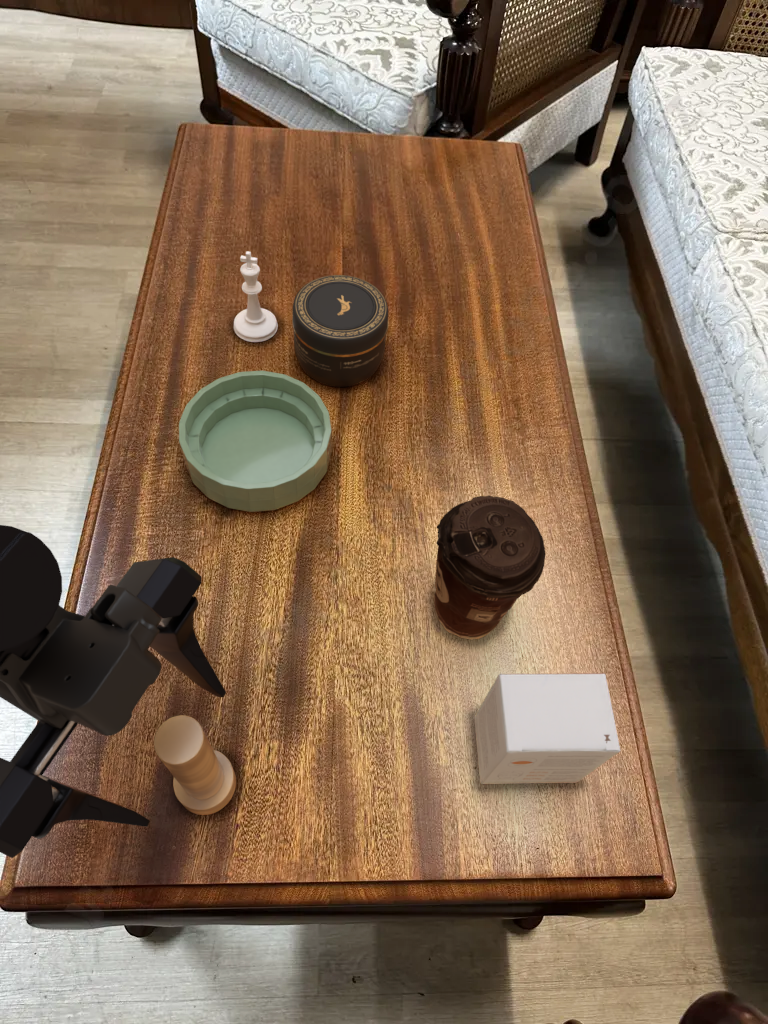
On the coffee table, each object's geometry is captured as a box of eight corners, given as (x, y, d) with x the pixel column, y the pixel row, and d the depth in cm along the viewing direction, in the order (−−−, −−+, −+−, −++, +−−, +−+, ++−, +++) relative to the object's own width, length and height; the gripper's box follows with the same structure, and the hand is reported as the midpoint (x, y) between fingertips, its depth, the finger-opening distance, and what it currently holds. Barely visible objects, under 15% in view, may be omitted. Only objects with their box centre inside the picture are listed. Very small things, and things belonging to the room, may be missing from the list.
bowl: (156, 475, 70) (147, 447, 66) (238, 381, 77) (234, 351, 73) (282, 538, 67) (280, 512, 63) (355, 434, 74) (357, 406, 70)
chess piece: (239, 308, 83) (230, 234, 74) (281, 315, 83) (277, 241, 74) (228, 338, 80) (218, 264, 72) (272, 345, 80) (266, 272, 72)
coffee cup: (405, 629, 63) (423, 558, 52) (434, 552, 67) (456, 472, 57) (500, 664, 62) (538, 599, 51) (523, 584, 66) (563, 508, 55)
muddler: (165, 796, 54) (126, 754, 43) (199, 744, 57) (170, 691, 46) (214, 826, 54) (187, 790, 43) (247, 772, 56) (229, 724, 45)
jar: (363, 318, 83) (367, 264, 77) (398, 379, 79) (405, 326, 72) (281, 338, 81) (278, 283, 74) (312, 402, 76) (312, 350, 70)
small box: (566, 714, 60) (609, 671, 51) (577, 785, 57) (624, 751, 48) (471, 714, 60) (498, 670, 51) (478, 785, 57) (507, 752, 48)
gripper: (-111, 807, 30) (164, 941, 38) (146, 482, 40) (324, 640, 47) (-153, 769, 38) (81, 885, 46) (69, 505, 48) (233, 637, 55)
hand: (186, 755), depth 48 cm, fingers open, 9 cm apart
